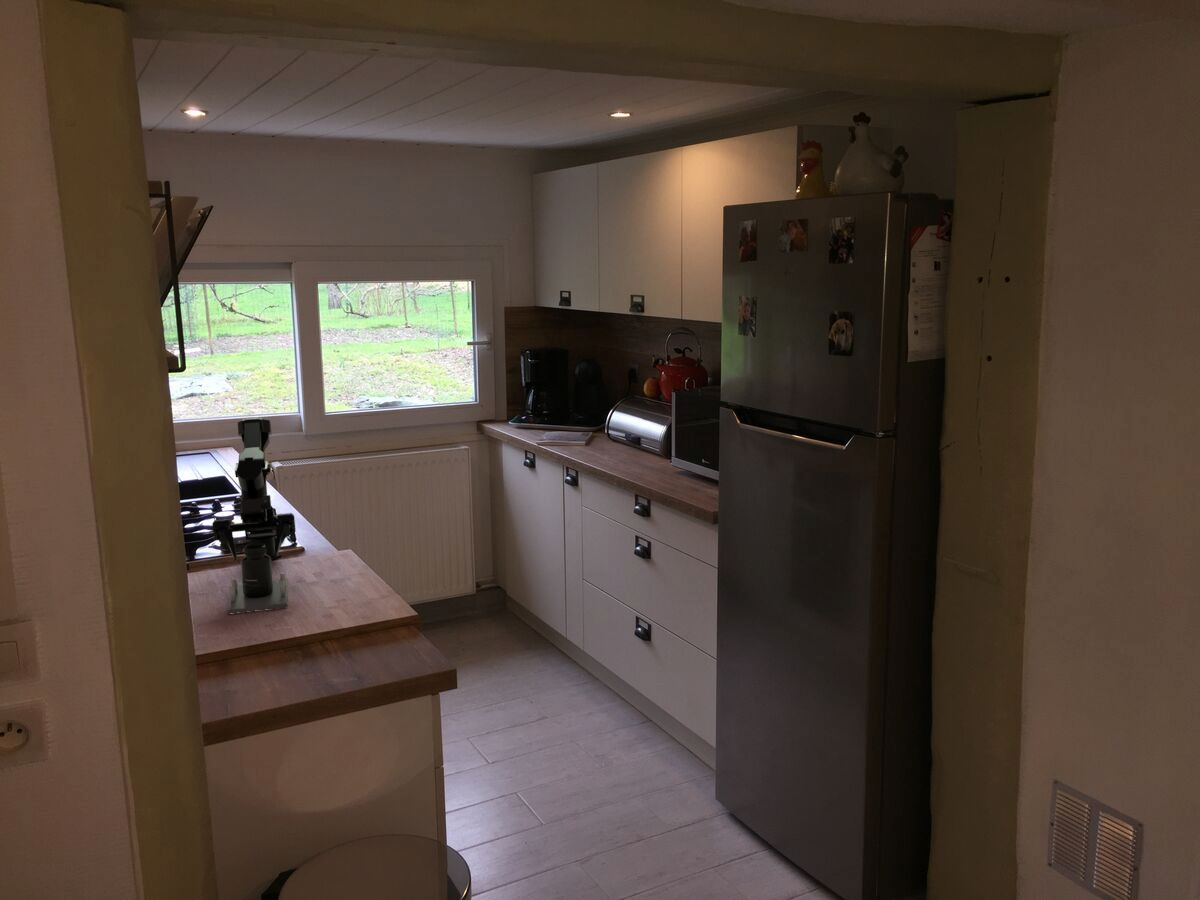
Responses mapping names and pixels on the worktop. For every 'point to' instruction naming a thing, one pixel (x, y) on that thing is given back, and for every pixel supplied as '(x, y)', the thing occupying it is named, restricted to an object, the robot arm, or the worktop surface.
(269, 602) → the pin tray
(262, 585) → the supplement bottle
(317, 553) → the worktop surface
